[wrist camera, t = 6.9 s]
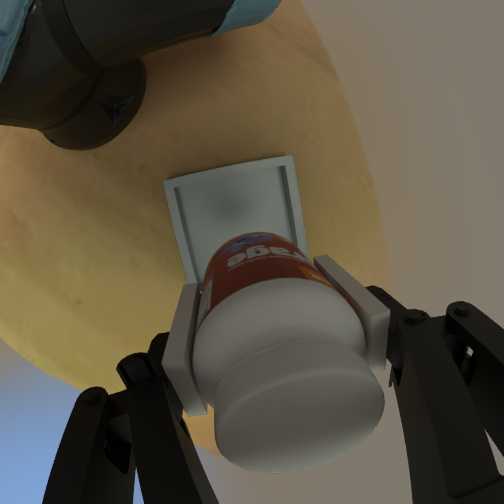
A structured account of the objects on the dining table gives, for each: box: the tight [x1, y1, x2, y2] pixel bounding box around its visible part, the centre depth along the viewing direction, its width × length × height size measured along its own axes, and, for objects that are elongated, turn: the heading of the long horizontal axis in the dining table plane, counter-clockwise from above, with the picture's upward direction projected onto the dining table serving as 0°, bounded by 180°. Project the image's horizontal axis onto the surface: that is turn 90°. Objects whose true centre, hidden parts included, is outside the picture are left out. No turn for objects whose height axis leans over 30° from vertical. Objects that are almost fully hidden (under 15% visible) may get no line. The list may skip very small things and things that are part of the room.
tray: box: [163, 155, 308, 294], centre depth 32 cm, size 14×14×3 cm
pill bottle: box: [192, 232, 385, 474], centre depth 11 cm, size 6×6×11 cm
